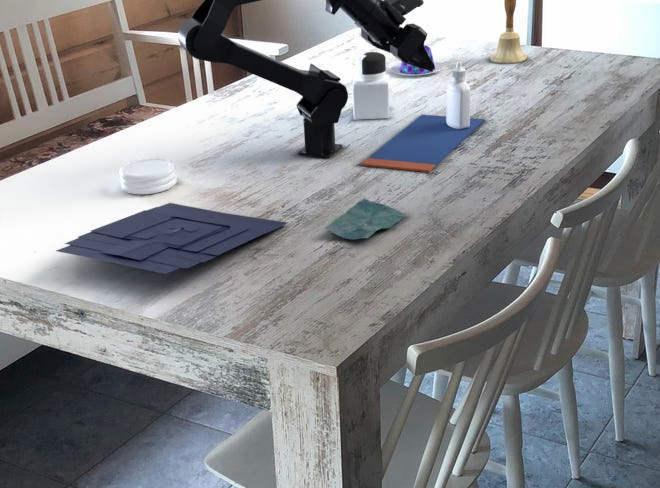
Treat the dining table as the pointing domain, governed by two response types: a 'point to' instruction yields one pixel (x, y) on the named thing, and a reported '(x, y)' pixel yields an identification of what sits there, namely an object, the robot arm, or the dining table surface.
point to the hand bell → (509, 40)
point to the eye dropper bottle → (458, 100)
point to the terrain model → (365, 220)
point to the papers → (169, 237)
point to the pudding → (416, 71)
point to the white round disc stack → (148, 176)
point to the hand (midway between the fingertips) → (422, 63)
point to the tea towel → (421, 144)
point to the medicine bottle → (370, 87)
